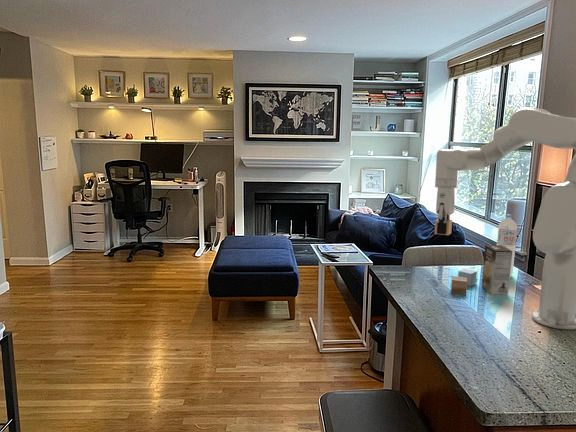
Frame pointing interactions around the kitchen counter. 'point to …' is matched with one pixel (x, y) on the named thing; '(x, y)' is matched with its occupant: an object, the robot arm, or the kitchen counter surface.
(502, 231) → the water bottle
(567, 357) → the kitchen counter surface
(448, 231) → the terracotta cube
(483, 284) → the coffee box
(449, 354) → the kitchen counter surface
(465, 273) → the slate cube
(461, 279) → the walnut cube
